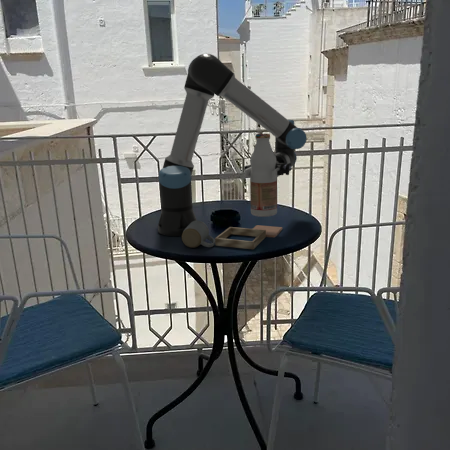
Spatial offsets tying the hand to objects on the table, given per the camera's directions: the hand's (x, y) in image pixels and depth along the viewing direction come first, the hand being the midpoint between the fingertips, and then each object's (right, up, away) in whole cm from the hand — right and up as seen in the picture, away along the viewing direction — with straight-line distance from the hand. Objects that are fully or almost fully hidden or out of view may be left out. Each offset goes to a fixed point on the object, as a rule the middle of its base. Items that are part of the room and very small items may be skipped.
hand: (259, 174), depth 155 cm
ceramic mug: (-20, -24, 0) cm, 32 cm away
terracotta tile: (+3, -20, +11) cm, 23 cm away
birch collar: (-6, -23, +2) cm, 24 cm away
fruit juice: (+2, -13, +8) cm, 16 cm away
